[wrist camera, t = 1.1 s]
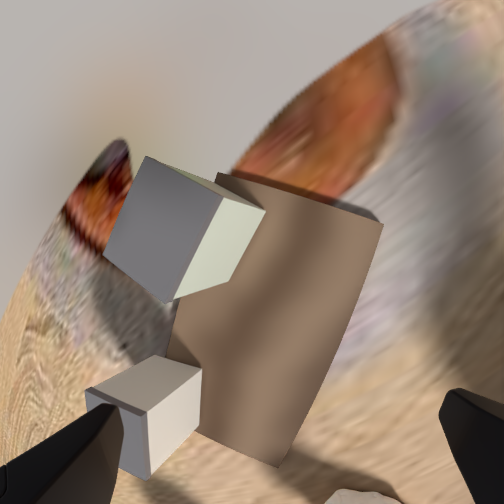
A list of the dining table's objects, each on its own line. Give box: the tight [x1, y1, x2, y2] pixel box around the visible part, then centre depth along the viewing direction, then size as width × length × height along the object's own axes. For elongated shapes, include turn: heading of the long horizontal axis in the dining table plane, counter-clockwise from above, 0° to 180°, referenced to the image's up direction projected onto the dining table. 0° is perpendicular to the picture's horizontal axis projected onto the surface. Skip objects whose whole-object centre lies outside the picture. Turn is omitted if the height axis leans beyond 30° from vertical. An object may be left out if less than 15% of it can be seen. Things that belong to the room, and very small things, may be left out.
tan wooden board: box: [165, 172, 384, 468], centre depth 21 cm, size 11×19×1 cm, turn 161°
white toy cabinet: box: [85, 355, 202, 481], centre depth 19 cm, size 4×5×8 cm
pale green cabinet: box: [103, 156, 266, 304], centre depth 17 cm, size 4×5×8 cm
